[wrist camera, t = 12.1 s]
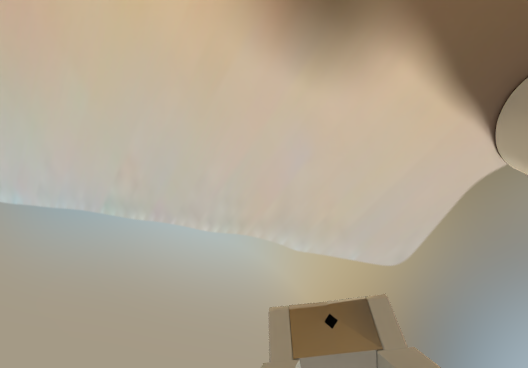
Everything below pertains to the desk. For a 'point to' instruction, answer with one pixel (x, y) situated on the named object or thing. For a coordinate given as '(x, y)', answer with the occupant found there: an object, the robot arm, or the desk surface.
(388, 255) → the desk surface
